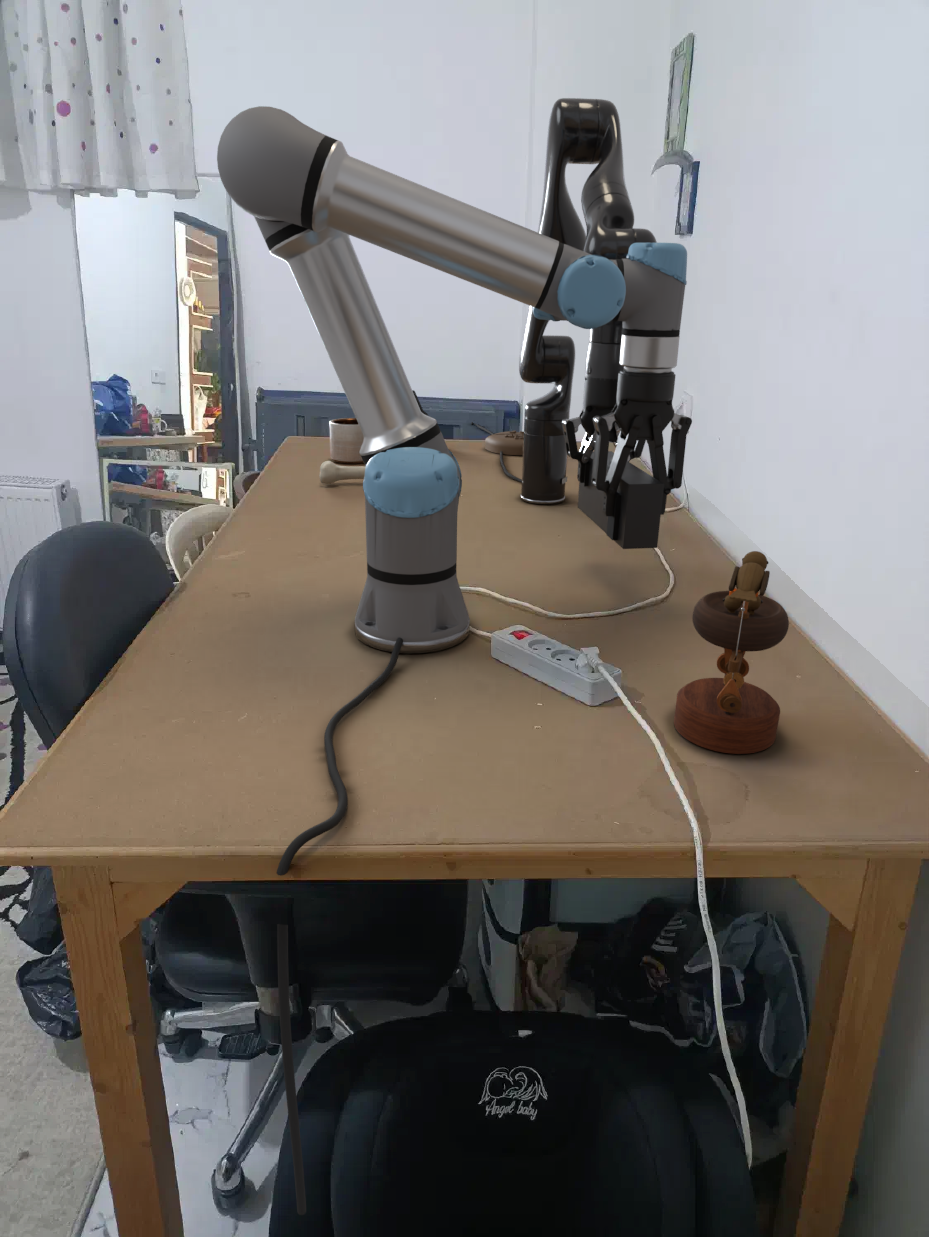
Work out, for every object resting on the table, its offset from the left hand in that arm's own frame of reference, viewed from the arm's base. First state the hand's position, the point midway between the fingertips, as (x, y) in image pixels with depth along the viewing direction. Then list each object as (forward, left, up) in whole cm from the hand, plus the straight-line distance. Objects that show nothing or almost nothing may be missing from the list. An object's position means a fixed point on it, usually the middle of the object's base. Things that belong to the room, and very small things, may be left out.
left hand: (631, 536), depth 121 cm
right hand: (+14, +4, +4) cm, 15 cm away
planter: (+91, +62, -10) cm, 110 cm away
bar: (+7, +2, -1) cm, 8 cm away
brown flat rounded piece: (+106, +18, -10) cm, 108 cm away
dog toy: (+66, +53, -10) cm, 86 cm away
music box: (-37, -8, -10) cm, 39 cm away
